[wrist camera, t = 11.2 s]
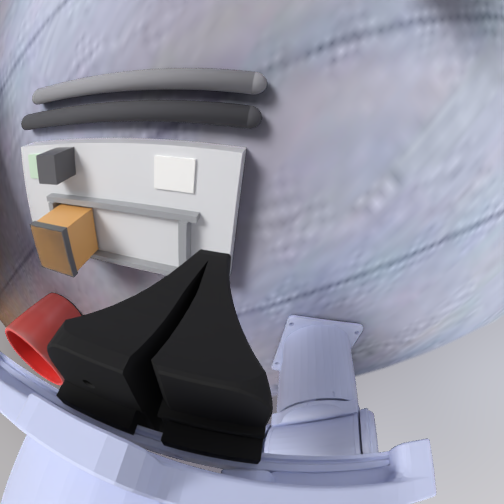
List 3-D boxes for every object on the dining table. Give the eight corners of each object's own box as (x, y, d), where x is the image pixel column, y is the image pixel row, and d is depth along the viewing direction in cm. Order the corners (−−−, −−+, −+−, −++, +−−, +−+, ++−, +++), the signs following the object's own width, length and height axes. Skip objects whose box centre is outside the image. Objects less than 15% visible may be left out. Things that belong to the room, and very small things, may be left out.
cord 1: (265, 96, 16) (264, 95, 15) (40, 104, 17) (28, 106, 15) (269, 74, 15) (267, 72, 14) (40, 88, 16) (29, 90, 14)
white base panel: (230, 273, 24) (220, 308, 20) (48, 234, 25) (24, 255, 21) (246, 147, 18) (235, 161, 14) (34, 141, 19) (3, 154, 15)
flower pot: (45, 316, 34) (16, 357, 26) (36, 271, 28) (-5, 316, 20) (95, 347, 35) (68, 395, 27) (93, 306, 30) (55, 362, 22)
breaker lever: (99, 249, 22) (74, 277, 18) (67, 242, 22) (42, 266, 18) (92, 207, 19) (62, 231, 16) (60, 202, 19) (29, 224, 16)
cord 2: (260, 129, 17) (258, 131, 16) (29, 128, 18) (18, 132, 17) (264, 107, 16) (262, 107, 15) (29, 114, 17) (18, 117, 16)
